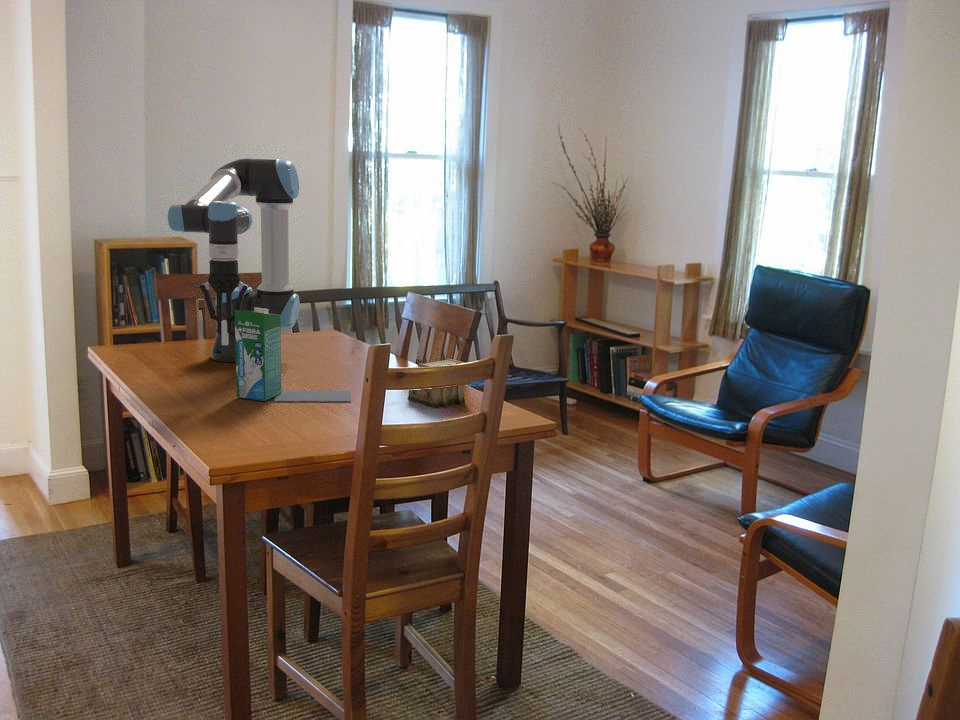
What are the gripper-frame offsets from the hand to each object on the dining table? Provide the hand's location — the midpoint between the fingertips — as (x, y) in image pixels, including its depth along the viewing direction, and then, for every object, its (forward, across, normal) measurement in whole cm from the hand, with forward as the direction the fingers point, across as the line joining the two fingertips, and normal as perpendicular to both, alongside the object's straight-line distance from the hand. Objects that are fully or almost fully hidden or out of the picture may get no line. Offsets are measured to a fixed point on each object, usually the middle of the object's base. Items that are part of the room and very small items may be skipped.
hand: (225, 344), depth 263 cm
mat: (+15, +24, 0) cm, 28 cm away
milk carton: (+15, +9, 0) cm, 17 cm away
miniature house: (+15, +60, -3) cm, 61 cm away
